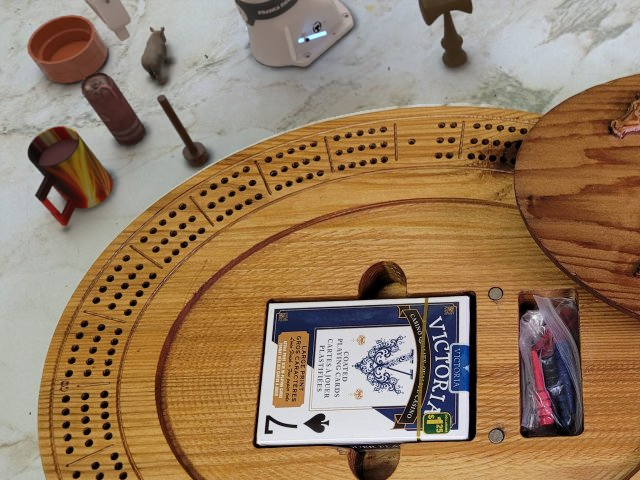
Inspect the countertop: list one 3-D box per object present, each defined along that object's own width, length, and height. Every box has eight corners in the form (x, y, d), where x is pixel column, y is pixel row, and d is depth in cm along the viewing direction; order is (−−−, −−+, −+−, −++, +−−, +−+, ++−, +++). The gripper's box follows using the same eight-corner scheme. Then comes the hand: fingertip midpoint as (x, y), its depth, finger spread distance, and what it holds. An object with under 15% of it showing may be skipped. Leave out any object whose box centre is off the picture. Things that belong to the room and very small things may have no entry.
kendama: (482, 62, 167) (470, -24, 150) (437, 77, 167) (420, -8, 149) (472, 43, 170) (459, -44, 152) (428, 58, 169) (410, -29, 151)
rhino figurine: (178, 38, 178) (165, 14, 173) (167, 84, 172) (154, 62, 166) (159, 39, 178) (146, 16, 173) (148, 86, 172) (134, 63, 167)
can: (140, 148, 164) (104, 96, 152) (112, 145, 165) (73, 92, 153) (152, 125, 167) (117, 72, 154) (124, 122, 168) (87, 69, 155)
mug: (65, 231, 156) (27, 190, 146) (63, 177, 163) (27, 134, 152) (115, 217, 157) (81, 175, 146) (111, 164, 163) (78, 120, 152)
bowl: (91, 28, 182) (76, 5, 176) (120, 61, 176) (106, 38, 171) (33, 61, 178) (16, 38, 173) (61, 96, 173) (44, 74, 167)
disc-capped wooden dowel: (202, 146, 163) (165, 84, 149) (213, 158, 162) (177, 97, 147) (183, 158, 162) (144, 97, 148) (194, 171, 161) (156, 110, 146)
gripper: (113, -32, 120) (157, 45, 132) (55, -95, 128) (101, -16, 140) (75, -11, 118) (122, 65, 131) (18, -76, 126) (68, 2, 139)
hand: (111, 22), depth 136 cm, fingers open, 8 cm apart
